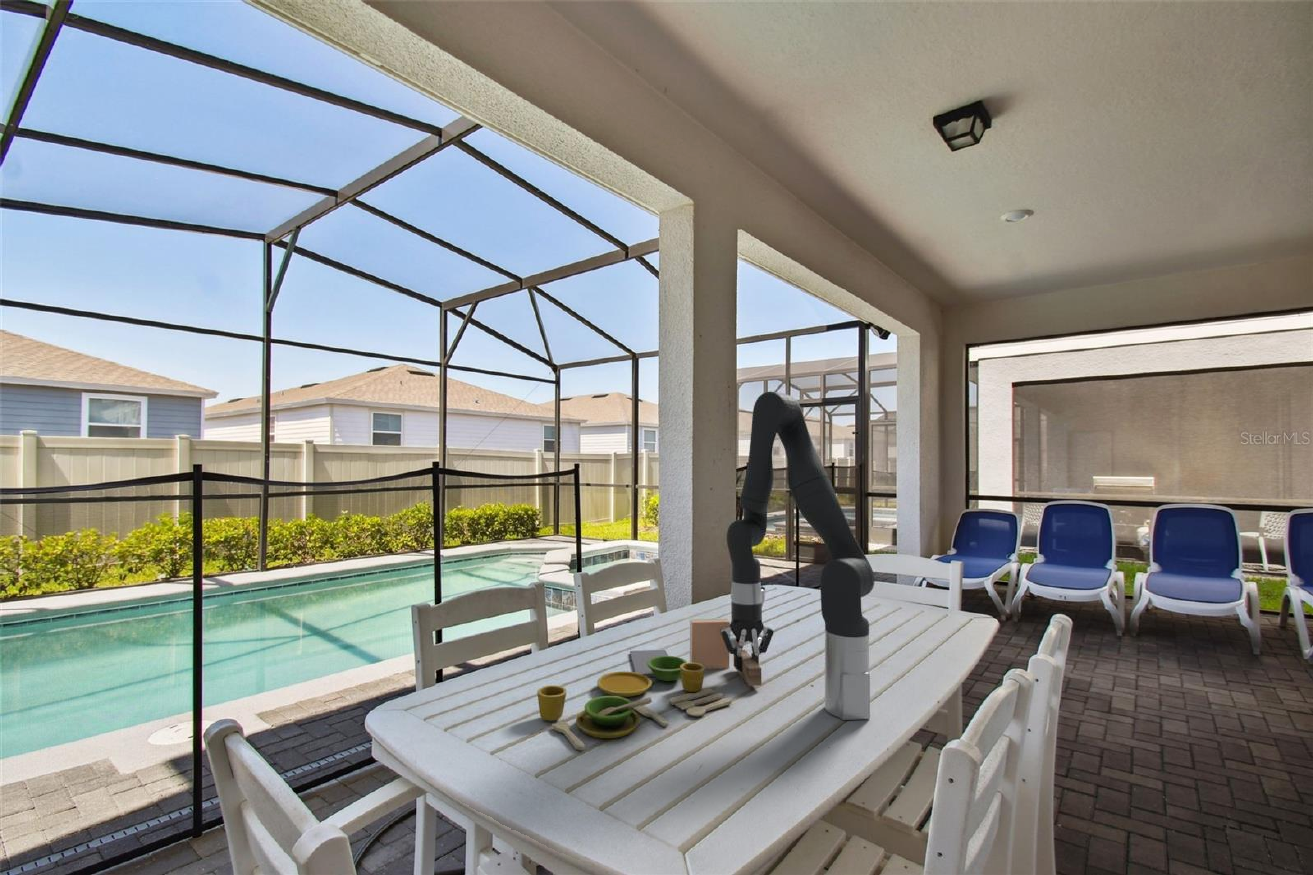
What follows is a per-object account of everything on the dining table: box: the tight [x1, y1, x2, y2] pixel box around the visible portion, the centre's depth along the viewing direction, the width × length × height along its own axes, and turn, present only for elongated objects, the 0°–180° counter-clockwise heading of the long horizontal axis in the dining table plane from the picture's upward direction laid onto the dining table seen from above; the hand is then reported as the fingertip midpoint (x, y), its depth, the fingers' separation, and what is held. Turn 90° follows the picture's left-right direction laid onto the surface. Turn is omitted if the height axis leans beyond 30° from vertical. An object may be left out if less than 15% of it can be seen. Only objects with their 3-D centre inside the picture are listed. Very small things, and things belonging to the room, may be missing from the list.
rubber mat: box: [629, 649, 669, 678], centre depth 156 cm, size 18×10×1 cm, turn 7°
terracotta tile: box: [689, 618, 731, 670], centre depth 155 cm, size 3×10×12 cm, turn 97°
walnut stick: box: [733, 649, 762, 687], centre depth 146 cm, size 14×3×4 cm, turn 8°
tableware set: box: [536, 655, 732, 751], centre depth 130 cm, size 41×28×6 cm
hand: (746, 669), depth 146 cm, fingers closed on walnut stick, 3 cm apart
